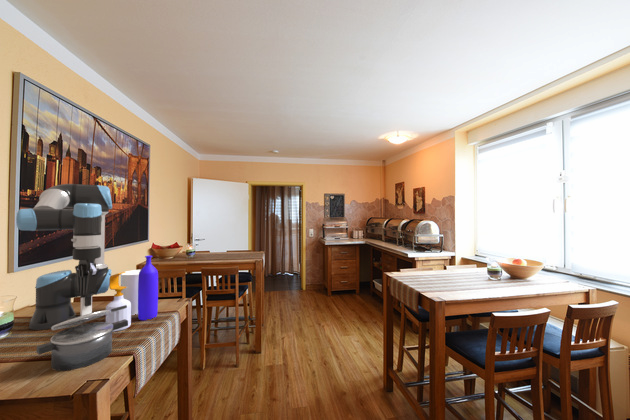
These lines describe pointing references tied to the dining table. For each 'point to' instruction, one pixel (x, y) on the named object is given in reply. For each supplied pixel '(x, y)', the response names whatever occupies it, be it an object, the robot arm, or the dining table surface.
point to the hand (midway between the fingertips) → (86, 314)
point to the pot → (81, 345)
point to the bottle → (148, 291)
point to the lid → (85, 318)
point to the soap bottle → (118, 303)
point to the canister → (131, 288)
